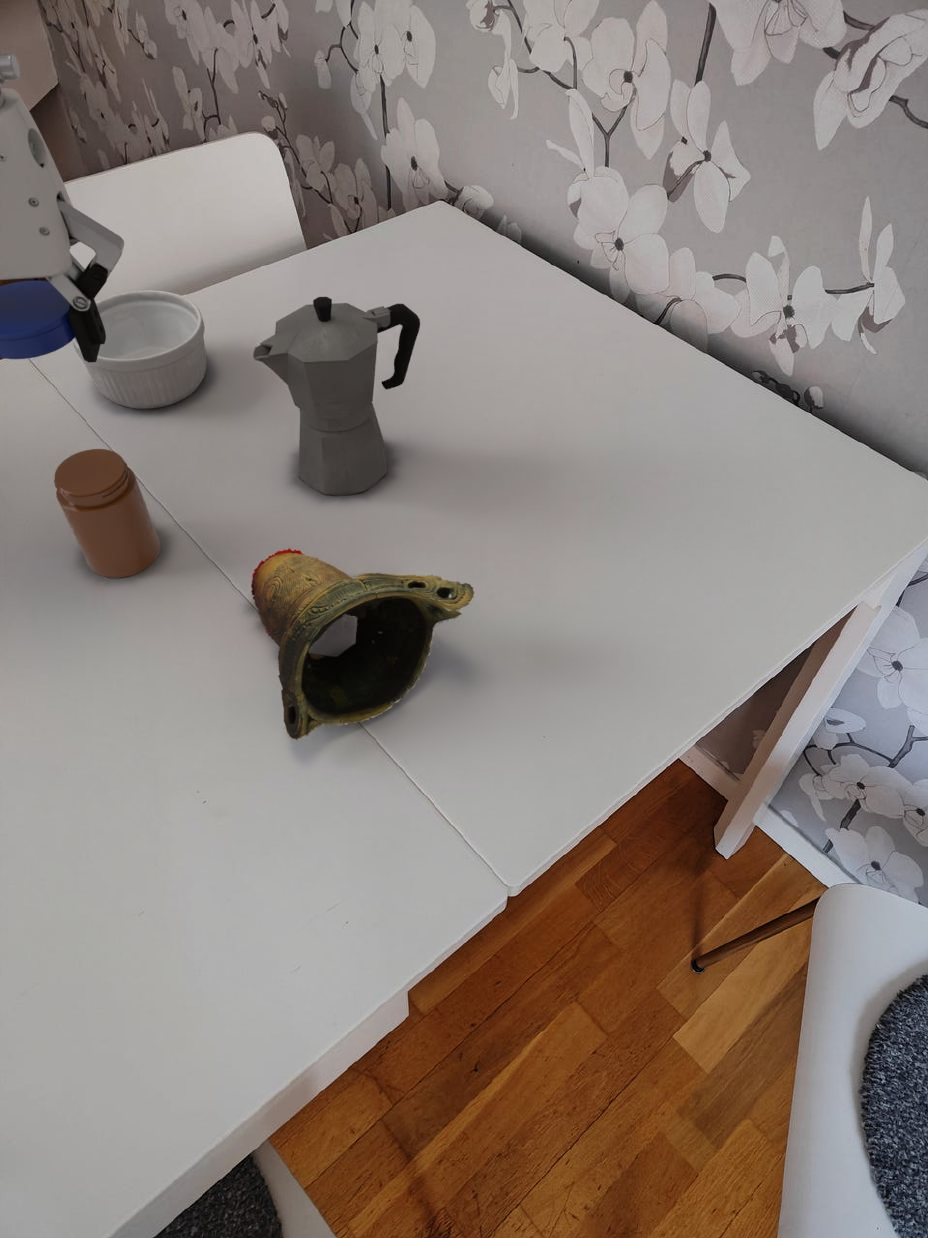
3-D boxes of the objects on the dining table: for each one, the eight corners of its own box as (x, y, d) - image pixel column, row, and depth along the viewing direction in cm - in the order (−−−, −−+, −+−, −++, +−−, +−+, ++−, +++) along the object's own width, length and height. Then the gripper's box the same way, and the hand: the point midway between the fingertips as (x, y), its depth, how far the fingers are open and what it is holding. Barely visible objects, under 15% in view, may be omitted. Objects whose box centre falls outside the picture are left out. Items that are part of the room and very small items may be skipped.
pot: (329, 464, 73) (444, 537, 59) (395, 553, 80) (510, 635, 67) (171, 605, 70) (255, 713, 57) (255, 683, 77) (346, 795, 64)
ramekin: (239, 363, 97) (227, 306, 91) (166, 431, 89) (148, 373, 84) (143, 334, 100) (125, 278, 95) (65, 397, 93) (41, 340, 87)
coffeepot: (297, 516, 81) (265, 349, 68) (263, 457, 87) (227, 291, 73) (444, 466, 86) (442, 300, 72) (403, 413, 91) (394, 249, 77)
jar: (83, 582, 76) (43, 501, 69) (91, 531, 80) (54, 449, 73) (158, 573, 77) (126, 492, 69) (162, 523, 81) (132, 441, 73)
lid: (95, 340, 60) (86, 315, 59) (-7, 371, 58) (-19, 346, 57) (64, 295, 64) (55, 270, 63) (-32, 322, 62) (-44, 297, 60)
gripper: (92, 49, 52) (168, 319, 66) (-215, 59, 50) (-72, 332, 64) (72, 99, 47) (158, 378, 61) (-268, 111, 46) (-101, 394, 59)
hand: (40, 353), depth 62 cm, fingers closed on lid, 6 cm apart
